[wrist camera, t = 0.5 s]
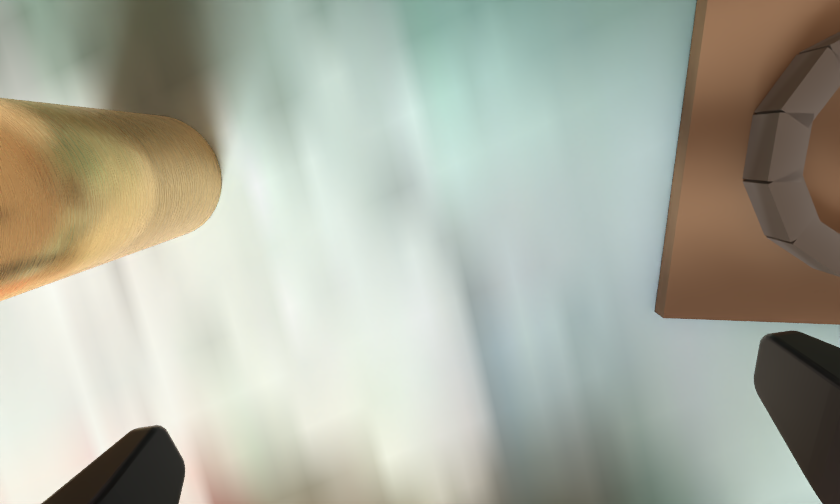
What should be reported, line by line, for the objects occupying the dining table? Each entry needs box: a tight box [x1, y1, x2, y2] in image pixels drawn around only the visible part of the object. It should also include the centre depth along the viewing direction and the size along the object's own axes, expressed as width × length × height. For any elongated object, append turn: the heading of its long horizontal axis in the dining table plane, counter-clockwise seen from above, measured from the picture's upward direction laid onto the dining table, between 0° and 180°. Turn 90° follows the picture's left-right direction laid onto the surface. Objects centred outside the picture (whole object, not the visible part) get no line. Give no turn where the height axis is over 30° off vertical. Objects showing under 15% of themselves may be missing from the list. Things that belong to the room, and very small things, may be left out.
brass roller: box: [0, 98, 221, 301], centre depth 14 cm, size 5×5×13 cm
